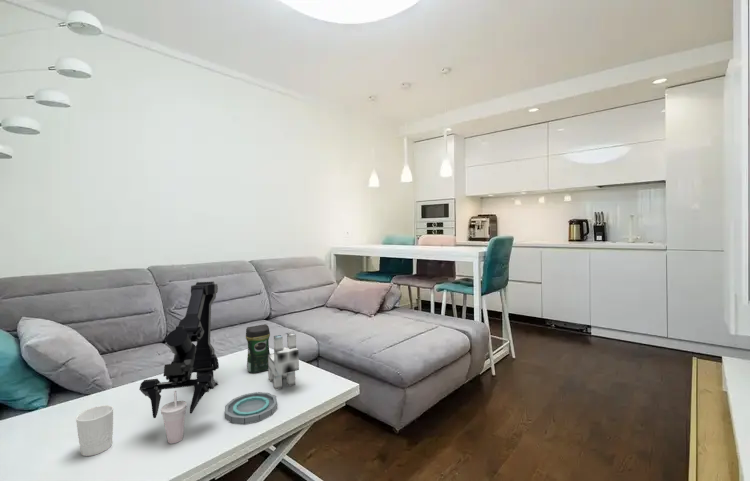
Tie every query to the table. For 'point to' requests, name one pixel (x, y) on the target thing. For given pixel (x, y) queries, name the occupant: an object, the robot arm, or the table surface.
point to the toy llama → (283, 361)
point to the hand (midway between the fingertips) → (172, 415)
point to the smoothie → (174, 419)
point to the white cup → (95, 430)
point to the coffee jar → (257, 348)
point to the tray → (250, 408)
